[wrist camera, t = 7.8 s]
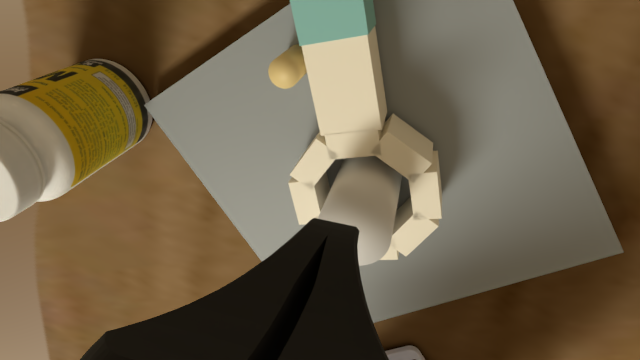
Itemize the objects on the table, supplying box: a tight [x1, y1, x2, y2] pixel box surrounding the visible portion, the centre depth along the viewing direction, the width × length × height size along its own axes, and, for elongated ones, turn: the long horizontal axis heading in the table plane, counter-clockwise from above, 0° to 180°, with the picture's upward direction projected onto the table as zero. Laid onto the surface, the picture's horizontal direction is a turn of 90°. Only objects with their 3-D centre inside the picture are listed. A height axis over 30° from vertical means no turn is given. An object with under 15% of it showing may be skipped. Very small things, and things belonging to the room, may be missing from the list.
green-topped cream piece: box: [288, 0, 442, 260], centre depth 18 cm, size 11×6×2 cm, turn 12°
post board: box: [144, 0, 624, 323], centre depth 19 cm, size 16×16×6 cm
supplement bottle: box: [0, 59, 152, 222], centre depth 20 cm, size 5×5×8 cm
